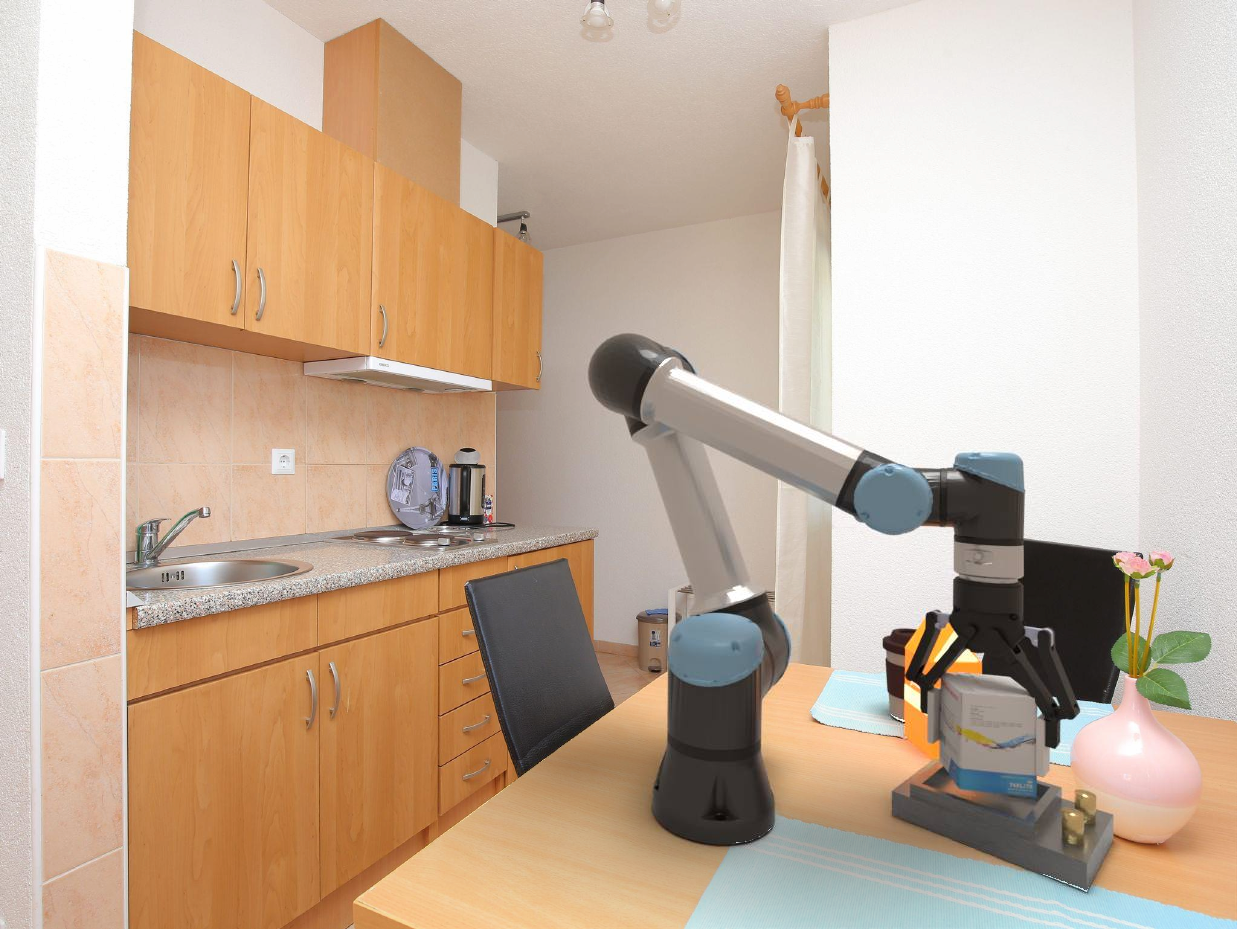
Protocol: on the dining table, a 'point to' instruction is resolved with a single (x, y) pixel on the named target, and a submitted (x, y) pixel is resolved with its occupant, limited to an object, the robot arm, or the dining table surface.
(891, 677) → the coffee cup
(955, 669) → the orange juice
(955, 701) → the ink box
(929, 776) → the grey tray with knobs
